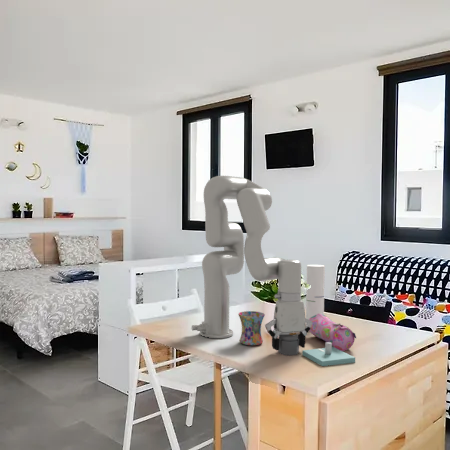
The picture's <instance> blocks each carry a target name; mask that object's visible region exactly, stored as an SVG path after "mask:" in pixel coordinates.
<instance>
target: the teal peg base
mask: <svg viewBox="0 0 450 450" xmlns="http://www.w3.org/2000/svg"><path fill="white" fill-rule="evenodd" d="M324 345H325V346H324V347H322V348H319V347H318V348H313V349H305V350H303V349H302V350H301V351H302V356H304V357H305V358H307V359H309V360H311V361H312V362H314V363H316V364H318V365H320V366H322V367H328V365H329V366H337V365H343V364H351V363H352V364H353V363H356V357H355V356H353V355H350V354H349V353H347V352H344V351H341V350H339V349H336V348H334V347H333V346H332V343H330V342H326V341H325V344H324Z"/></svg>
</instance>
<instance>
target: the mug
mask: <svg viewBox="0 0 450 450" xmlns="http://www.w3.org/2000/svg"><path fill="white" fill-rule="evenodd" d="M265 315H266V314H265V313H264V312H261V311H257V310H256V311H254V310H250V311H249V310H246V311H240V312H238V317H239V319H240V323H241V335H240V337H239V340H238V341H239V343H241V344H242V345H244V346H258V345H261V344H263V342H264V340H263V337H262V323H263V320H264V318H265Z"/></svg>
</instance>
